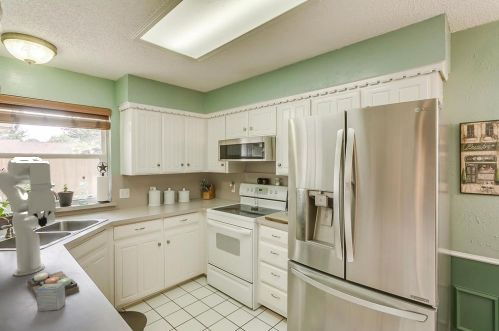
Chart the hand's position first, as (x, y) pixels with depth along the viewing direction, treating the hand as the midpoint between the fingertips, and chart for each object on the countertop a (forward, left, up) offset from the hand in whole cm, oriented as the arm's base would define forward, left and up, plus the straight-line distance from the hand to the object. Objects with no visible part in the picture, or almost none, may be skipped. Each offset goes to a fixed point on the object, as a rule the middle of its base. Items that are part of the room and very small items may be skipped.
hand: (42, 226), depth 120 cm
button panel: (+10, +1, -27) cm, 29 cm away
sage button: (+18, +3, -24) cm, 30 cm away
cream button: (+2, -2, -24) cm, 24 cm away
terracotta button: (+10, 0, -25) cm, 27 cm away
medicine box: (+29, -4, -27) cm, 40 cm away
